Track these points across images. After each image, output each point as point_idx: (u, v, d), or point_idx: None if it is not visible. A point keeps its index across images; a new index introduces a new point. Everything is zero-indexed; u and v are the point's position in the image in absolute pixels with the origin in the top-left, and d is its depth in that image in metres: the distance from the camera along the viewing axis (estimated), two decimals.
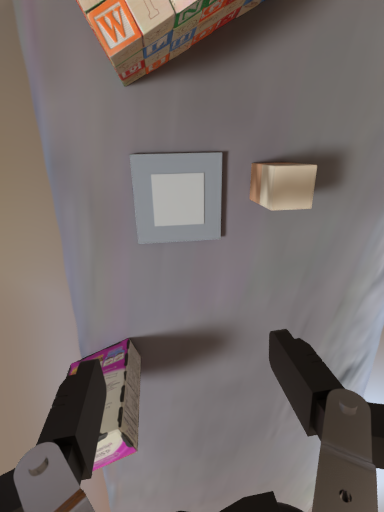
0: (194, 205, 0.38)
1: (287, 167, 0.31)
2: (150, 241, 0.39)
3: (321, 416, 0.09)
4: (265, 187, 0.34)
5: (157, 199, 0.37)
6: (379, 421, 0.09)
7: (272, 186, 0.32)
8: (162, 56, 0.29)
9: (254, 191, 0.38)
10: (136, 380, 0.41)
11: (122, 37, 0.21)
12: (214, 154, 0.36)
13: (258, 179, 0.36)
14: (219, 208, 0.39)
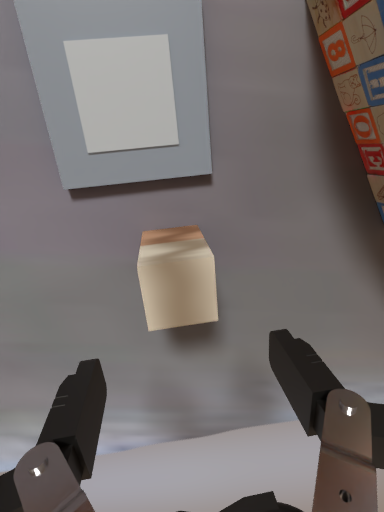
0: (120, 130, 0.20)
1: (213, 275, 0.18)
2: (25, 30, 0.18)
3: (321, 416, 0.09)
4: (171, 249, 0.20)
5: (120, 48, 0.19)
6: (379, 421, 0.09)
7: (179, 259, 0.18)
8: (356, 51, 0.18)
9: (157, 235, 0.23)
10: None
11: None
12: (209, 160, 0.22)
13: (179, 237, 0.22)
14: (121, 181, 0.22)
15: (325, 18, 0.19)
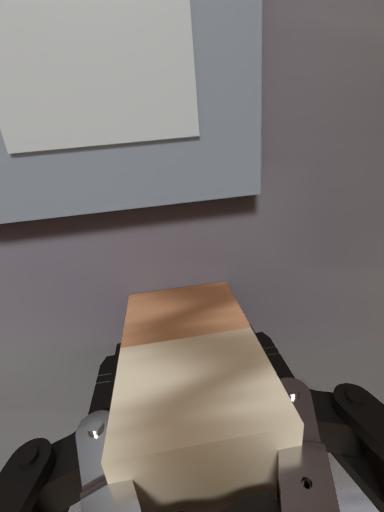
0: (75, 106, 0.10)
1: None
2: None
3: None
4: (188, 369, 0.09)
5: None
6: (320, 407, 0.09)
7: (215, 429, 0.07)
8: None
9: (156, 310, 0.12)
10: None
11: None
12: (257, 168, 0.11)
13: (199, 321, 0.11)
14: (84, 209, 0.11)
15: None
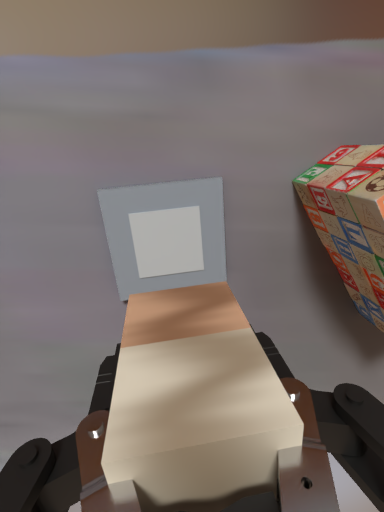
0: (163, 263, 0.29)
1: None
2: (103, 208, 0.26)
3: None
4: (188, 369, 0.09)
5: (166, 215, 0.27)
6: (320, 407, 0.09)
7: (214, 429, 0.07)
8: (328, 227, 0.27)
9: (156, 310, 0.12)
10: None
11: None
12: (225, 277, 0.31)
13: (199, 321, 0.11)
14: None
15: (306, 200, 0.28)
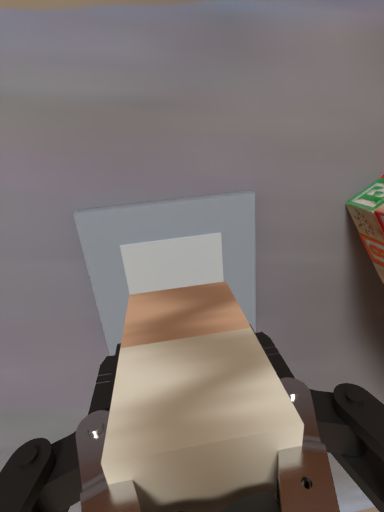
0: None
1: None
2: (84, 238, 0.18)
3: None
4: (188, 369, 0.09)
5: (174, 246, 0.19)
6: (320, 407, 0.09)
7: (215, 429, 0.07)
8: None
9: (156, 310, 0.12)
10: None
11: None
12: (253, 326, 0.22)
13: (199, 321, 0.11)
14: None
15: (368, 230, 0.20)
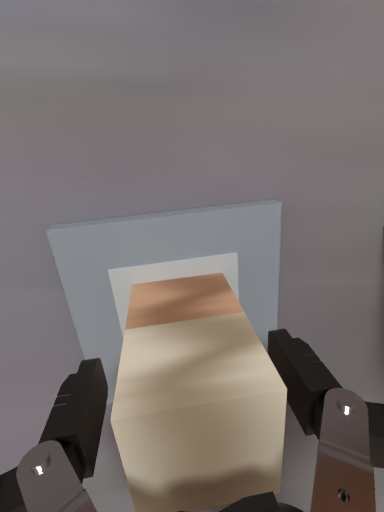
0: None
1: (281, 423, 0.08)
2: (61, 262, 0.14)
3: (319, 415, 0.09)
4: (187, 346, 0.10)
5: (178, 270, 0.15)
6: (376, 420, 0.09)
7: (209, 393, 0.08)
8: None
9: (157, 297, 0.13)
10: None
11: None
12: None
13: (196, 306, 0.12)
14: None
15: None
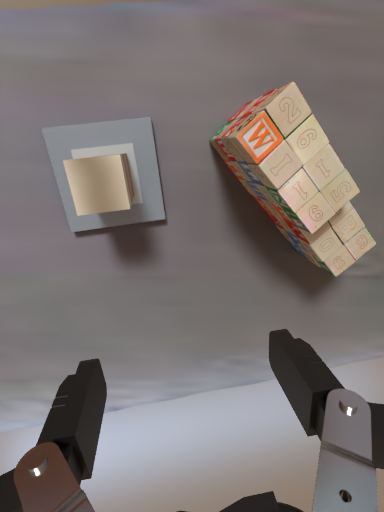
0: None
1: (121, 170, 0.25)
2: (48, 144, 0.31)
3: (321, 416, 0.09)
4: None
5: (104, 151, 0.32)
6: (379, 421, 0.09)
7: (95, 156, 0.25)
8: (240, 174, 0.33)
9: None
10: None
11: (252, 146, 0.23)
12: (162, 211, 0.35)
13: None
14: (108, 225, 0.35)
15: (222, 155, 0.33)
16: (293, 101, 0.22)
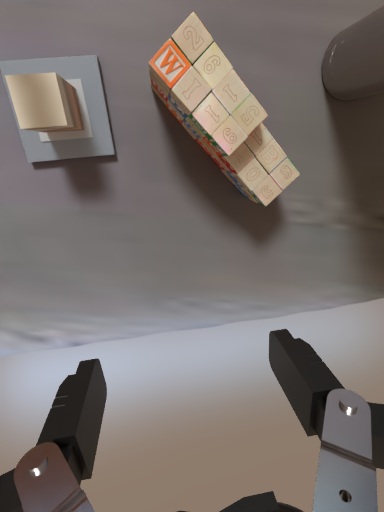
0: None
1: (57, 87, 0.29)
2: None
3: (321, 416, 0.09)
4: None
5: None
6: (379, 421, 0.09)
7: (34, 74, 0.28)
8: (177, 115, 0.36)
9: None
10: None
11: (164, 71, 0.27)
12: (111, 146, 0.39)
13: None
14: (61, 158, 0.39)
15: (162, 99, 0.37)
16: (195, 29, 0.26)
